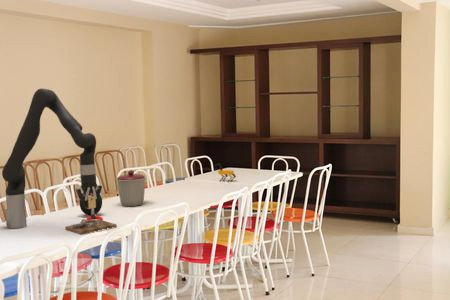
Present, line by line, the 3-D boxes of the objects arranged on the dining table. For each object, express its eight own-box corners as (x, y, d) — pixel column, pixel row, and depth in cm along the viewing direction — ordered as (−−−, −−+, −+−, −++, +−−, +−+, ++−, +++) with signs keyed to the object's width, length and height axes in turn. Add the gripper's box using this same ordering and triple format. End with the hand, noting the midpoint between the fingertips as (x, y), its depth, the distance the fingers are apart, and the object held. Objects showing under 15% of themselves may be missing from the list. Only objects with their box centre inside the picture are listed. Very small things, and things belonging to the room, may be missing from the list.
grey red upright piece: (104, 221, 318) (100, 217, 326) (103, 198, 316) (99, 194, 324) (88, 223, 314) (85, 219, 323) (87, 199, 312) (83, 196, 321)
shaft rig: (81, 234, 288) (80, 227, 288) (65, 229, 300) (65, 222, 300) (116, 227, 302) (116, 220, 301) (100, 222, 314) (100, 215, 313)
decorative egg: (76, 215, 333) (74, 189, 332) (96, 212, 341) (94, 186, 339) (86, 218, 324) (85, 191, 322) (107, 215, 332) (105, 188, 330)
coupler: (88, 208, 297) (88, 197, 297) (84, 207, 300) (84, 196, 300) (95, 207, 300) (95, 195, 299) (91, 206, 303) (91, 195, 302)
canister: (141, 208, 349) (139, 172, 347) (112, 207, 352) (110, 172, 350) (151, 202, 366) (149, 168, 364) (123, 201, 370) (121, 168, 368)
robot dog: (216, 179, 447) (215, 162, 445) (236, 181, 437) (235, 163, 435) (212, 181, 442) (211, 163, 441) (232, 182, 432) (231, 164, 430)
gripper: (96, 171, 306) (98, 203, 307) (71, 174, 296) (73, 208, 298) (104, 172, 300) (106, 205, 302) (78, 175, 291) (81, 210, 292)
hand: (90, 206), depth 300 cm, fingers closed on coupler, 4 cm apart
